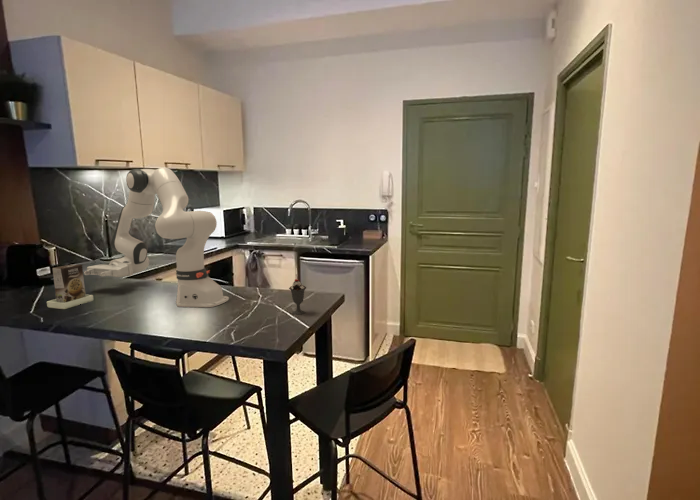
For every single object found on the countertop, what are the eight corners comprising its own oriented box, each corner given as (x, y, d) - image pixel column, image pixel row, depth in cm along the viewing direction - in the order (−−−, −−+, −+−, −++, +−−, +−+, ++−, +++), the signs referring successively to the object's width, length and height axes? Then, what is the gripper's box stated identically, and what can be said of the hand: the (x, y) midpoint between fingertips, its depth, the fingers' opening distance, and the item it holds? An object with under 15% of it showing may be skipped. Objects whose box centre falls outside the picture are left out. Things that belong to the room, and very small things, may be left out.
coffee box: (67, 305, 174) (62, 268, 171) (56, 304, 176) (51, 267, 173) (87, 300, 182) (82, 264, 180) (76, 298, 184) (71, 263, 182)
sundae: (298, 308, 166) (297, 272, 164) (310, 312, 162) (309, 274, 160) (286, 313, 161) (284, 275, 159) (298, 316, 157) (296, 278, 155)
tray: (93, 300, 183) (92, 295, 183) (64, 309, 171) (63, 303, 171) (76, 298, 187) (76, 293, 186) (47, 307, 174) (46, 301, 174)
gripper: (101, 260, 204) (75, 266, 191) (133, 262, 197) (108, 268, 184) (103, 273, 205) (77, 279, 192) (135, 275, 198) (110, 282, 185)
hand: (92, 274), depth 188 cm, fingers open, 8 cm apart
